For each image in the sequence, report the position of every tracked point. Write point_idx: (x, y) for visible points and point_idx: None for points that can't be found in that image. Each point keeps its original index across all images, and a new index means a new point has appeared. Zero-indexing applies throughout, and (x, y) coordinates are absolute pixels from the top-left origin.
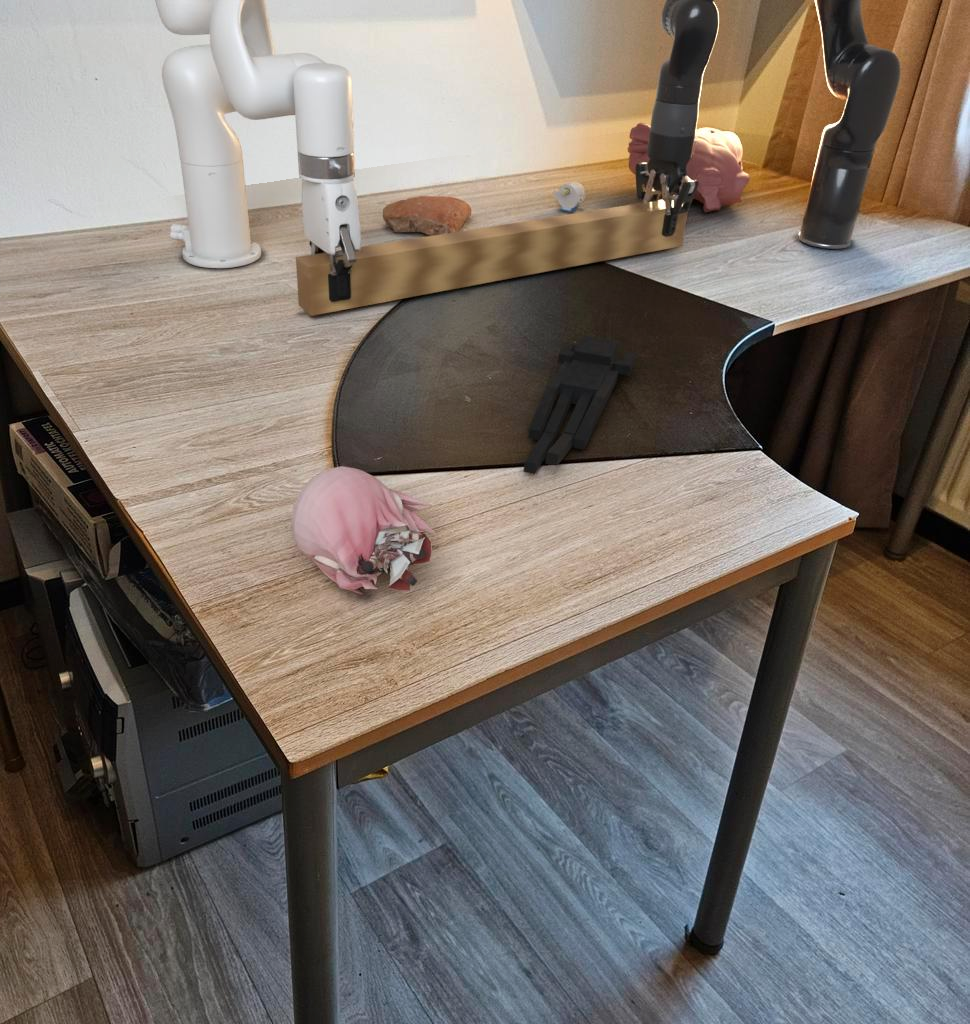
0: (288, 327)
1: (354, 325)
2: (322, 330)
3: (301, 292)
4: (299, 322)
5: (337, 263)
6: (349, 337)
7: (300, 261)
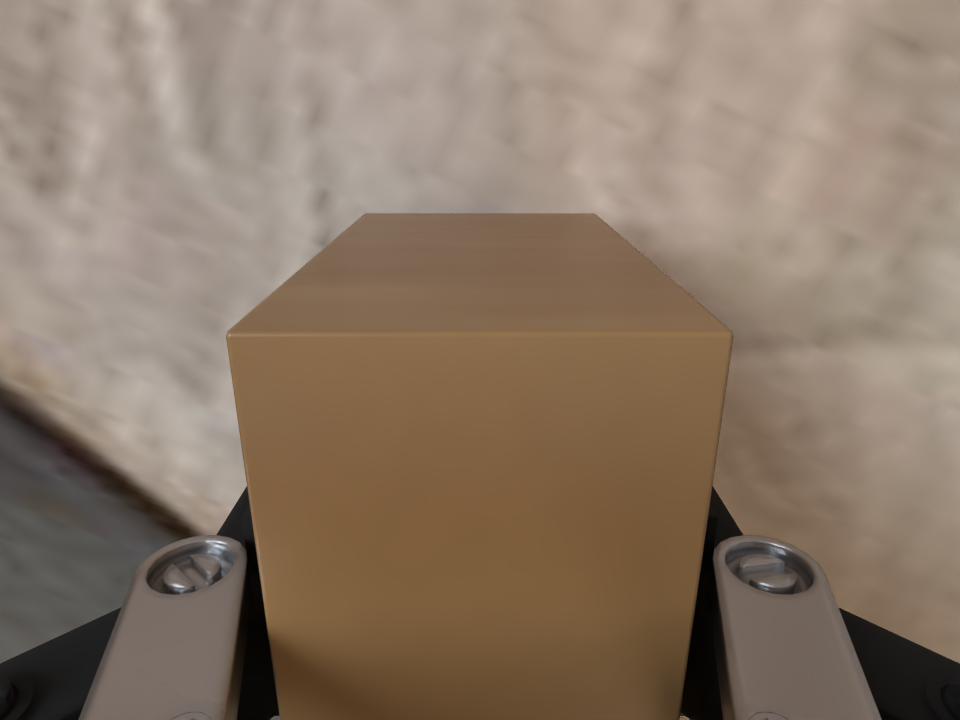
0: (360, 10)
1: (231, 430)
2: (221, 220)
3: (532, 234)
4: (415, 130)
5: (67, 703)
6: (57, 329)
7: (530, 327)
